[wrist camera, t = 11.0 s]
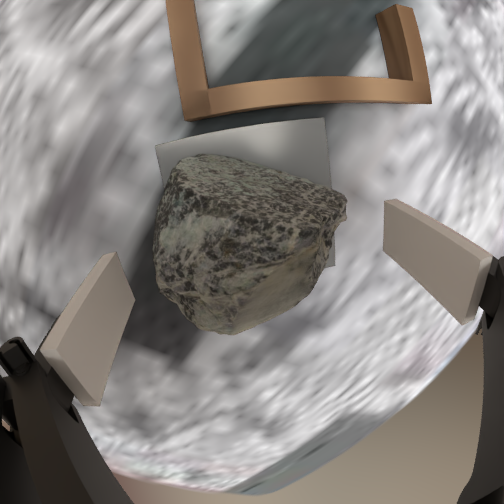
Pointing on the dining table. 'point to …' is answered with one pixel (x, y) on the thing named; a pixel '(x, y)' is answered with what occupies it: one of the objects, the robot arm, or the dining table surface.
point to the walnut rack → (301, 88)
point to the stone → (240, 240)
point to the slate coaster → (262, 151)
